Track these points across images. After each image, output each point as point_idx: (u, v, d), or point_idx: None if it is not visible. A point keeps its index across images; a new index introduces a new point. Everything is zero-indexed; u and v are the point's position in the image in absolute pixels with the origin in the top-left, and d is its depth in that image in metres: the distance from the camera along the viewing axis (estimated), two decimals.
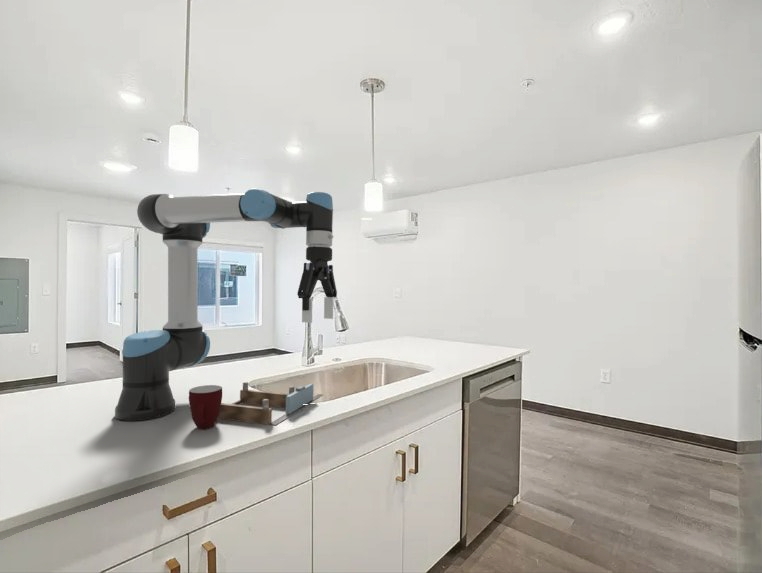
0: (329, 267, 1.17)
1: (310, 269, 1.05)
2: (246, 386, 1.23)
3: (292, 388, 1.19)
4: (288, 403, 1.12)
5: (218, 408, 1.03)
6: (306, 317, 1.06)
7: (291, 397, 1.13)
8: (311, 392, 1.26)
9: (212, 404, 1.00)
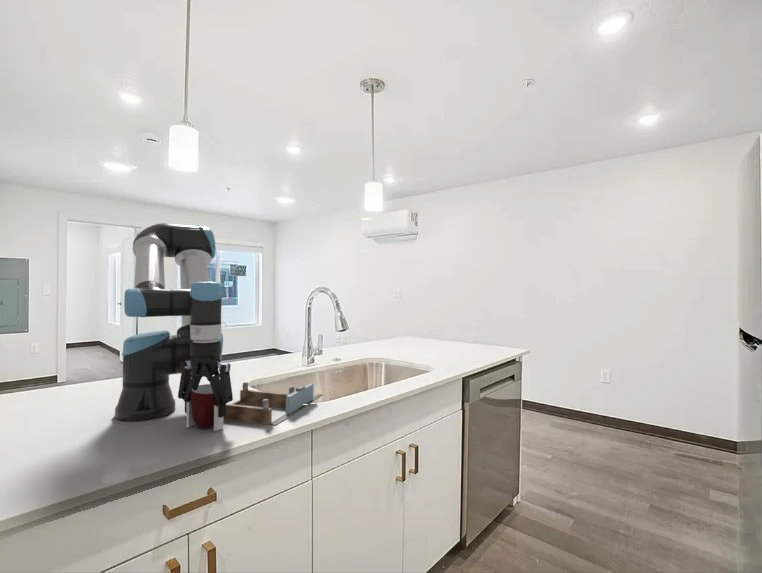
0: None
1: None
2: (246, 386, 1.23)
3: (292, 388, 1.19)
4: (288, 403, 1.12)
5: None
6: None
7: (291, 397, 1.13)
8: (311, 392, 1.26)
9: None
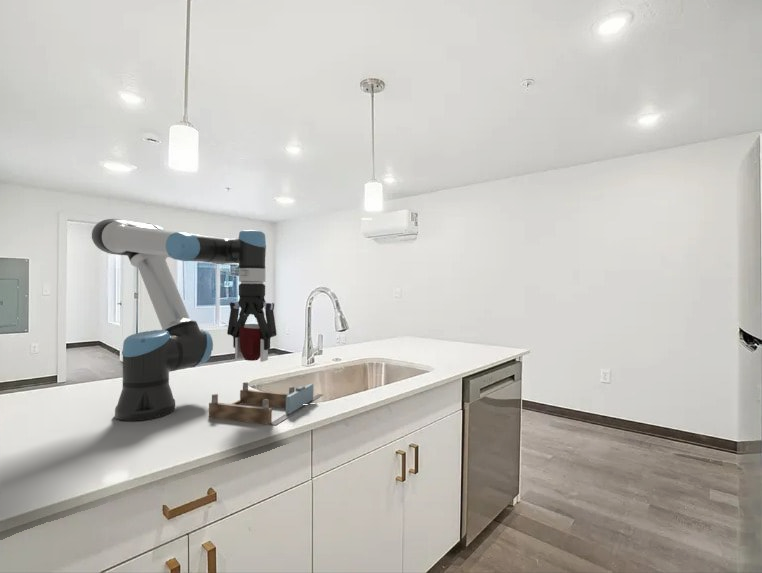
0: None
1: None
2: (246, 386, 1.23)
3: (292, 388, 1.19)
4: (288, 403, 1.12)
5: None
6: None
7: (291, 397, 1.13)
8: (311, 392, 1.26)
9: (260, 339, 1.14)
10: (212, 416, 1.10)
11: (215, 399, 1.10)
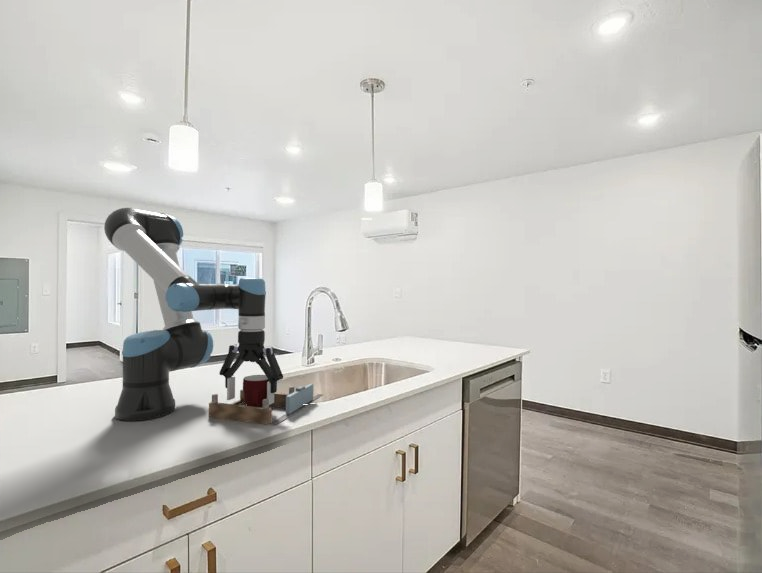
0: None
1: None
2: None
3: (292, 388, 1.19)
4: (288, 403, 1.12)
5: None
6: None
7: (291, 397, 1.13)
8: (311, 392, 1.26)
9: (264, 391, 1.13)
10: (212, 416, 1.10)
11: (215, 399, 1.10)
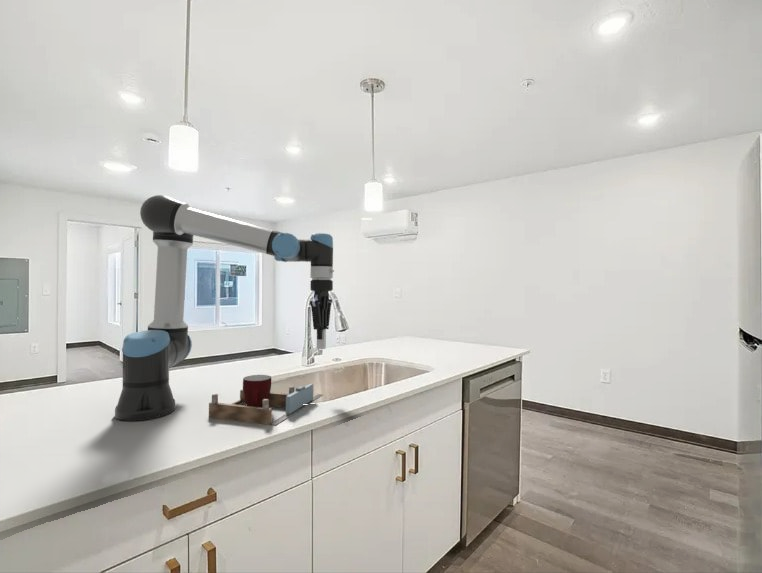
0: (329, 300, 1.37)
1: (317, 306, 1.27)
2: None
3: (292, 388, 1.19)
4: (288, 403, 1.12)
5: (268, 395, 1.15)
6: (320, 344, 1.32)
7: (291, 397, 1.13)
8: (311, 392, 1.26)
9: (264, 391, 1.13)
10: (212, 416, 1.10)
11: (215, 399, 1.10)
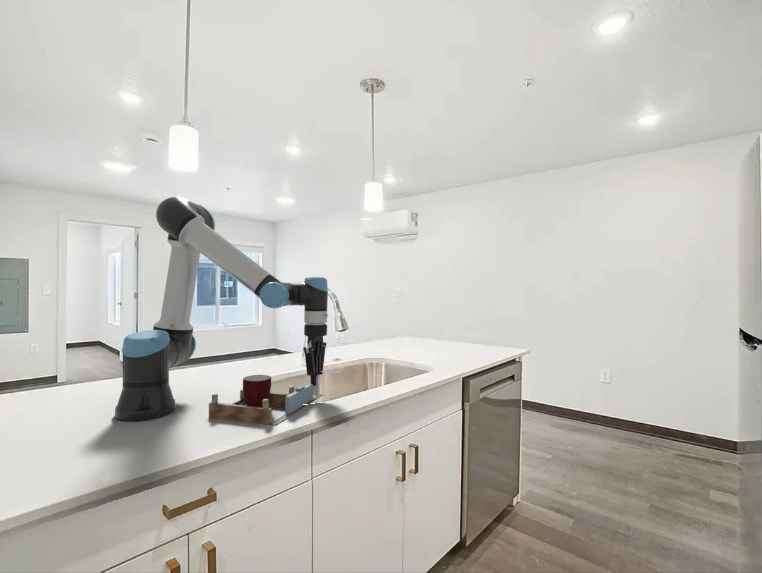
0: (323, 343, 1.33)
1: (310, 353, 1.23)
2: None
3: (292, 388, 1.19)
4: (288, 403, 1.12)
5: (268, 395, 1.15)
6: (314, 391, 1.28)
7: (291, 397, 1.13)
8: (311, 392, 1.26)
9: (264, 391, 1.13)
10: (212, 416, 1.10)
11: (215, 399, 1.10)
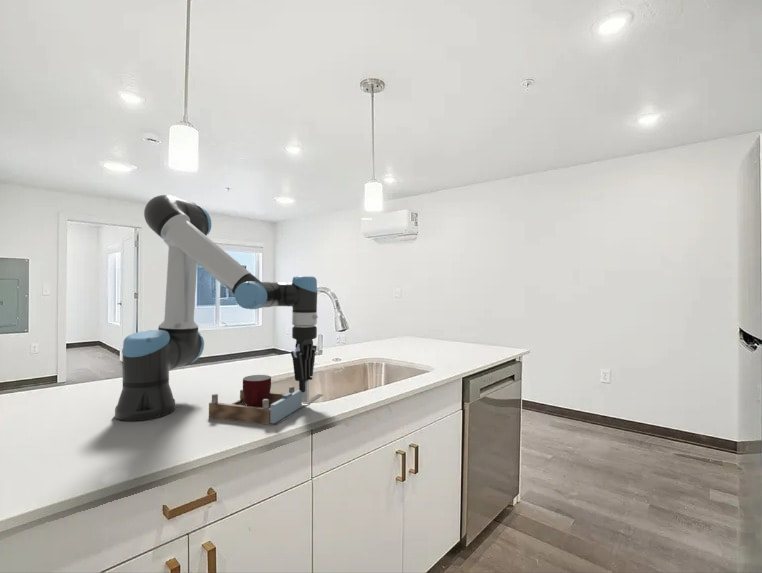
0: (313, 346, 1.26)
1: (298, 358, 1.15)
2: None
3: (292, 388, 1.19)
4: (273, 412, 1.04)
5: (268, 395, 1.15)
6: (302, 397, 1.20)
7: (276, 405, 1.05)
8: (300, 398, 1.18)
9: (264, 391, 1.13)
10: (212, 416, 1.10)
11: (215, 399, 1.10)
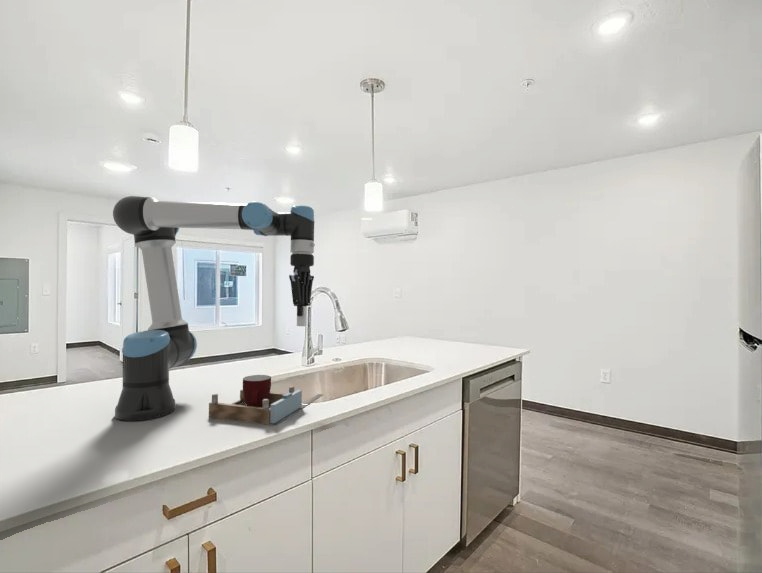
0: (310, 276, 1.32)
1: (296, 281, 1.22)
2: None
3: (292, 388, 1.19)
4: (273, 412, 1.04)
5: (268, 395, 1.15)
6: (300, 321, 1.27)
7: (276, 405, 1.05)
8: (300, 398, 1.18)
9: (264, 391, 1.13)
10: (212, 416, 1.10)
11: (215, 399, 1.10)
